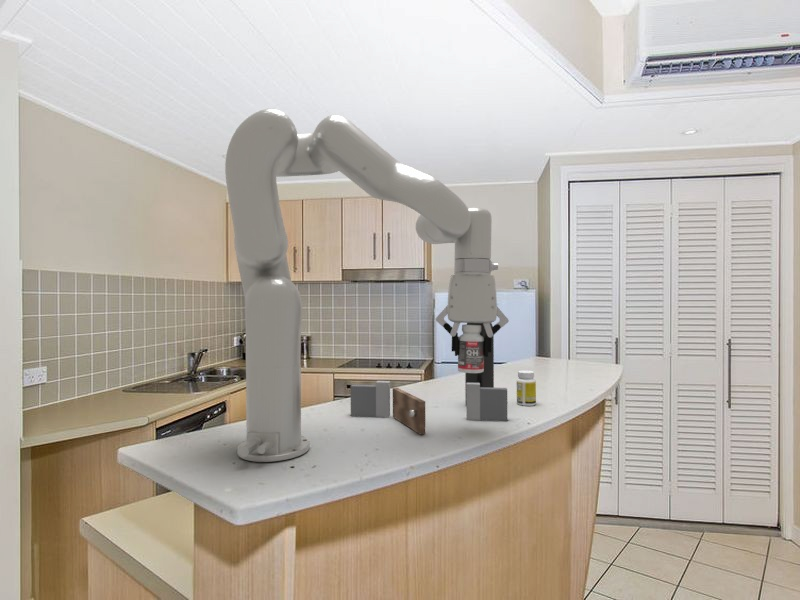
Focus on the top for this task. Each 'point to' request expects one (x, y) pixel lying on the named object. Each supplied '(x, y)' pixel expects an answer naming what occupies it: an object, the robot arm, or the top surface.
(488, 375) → the wine bottle
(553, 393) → the top surface
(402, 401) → the door
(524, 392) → the supplement bottle
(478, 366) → the pill bottle
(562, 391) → the top surface
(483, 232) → the robot arm
